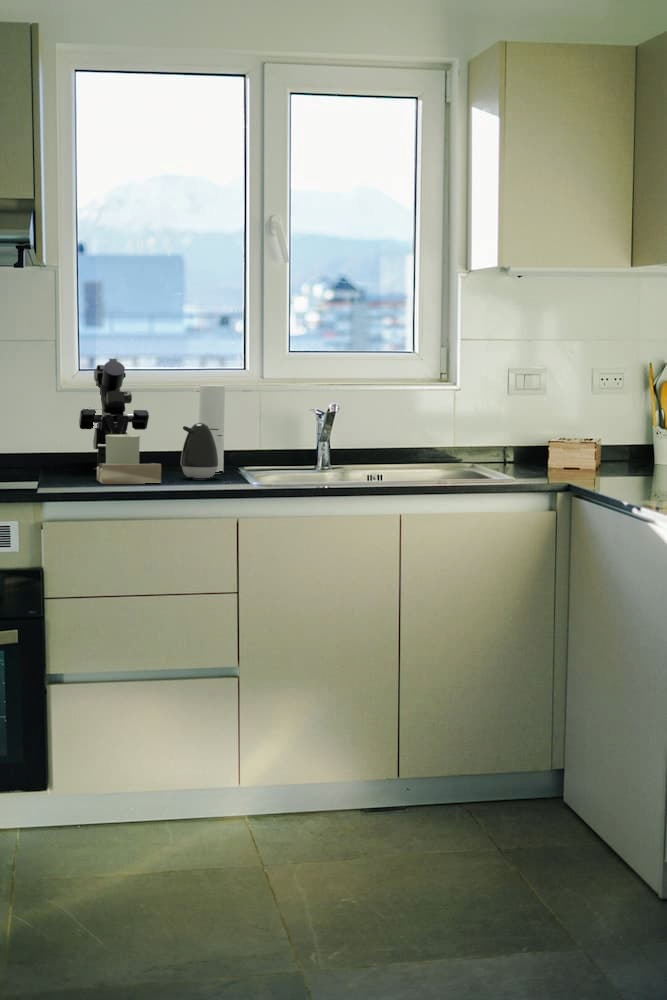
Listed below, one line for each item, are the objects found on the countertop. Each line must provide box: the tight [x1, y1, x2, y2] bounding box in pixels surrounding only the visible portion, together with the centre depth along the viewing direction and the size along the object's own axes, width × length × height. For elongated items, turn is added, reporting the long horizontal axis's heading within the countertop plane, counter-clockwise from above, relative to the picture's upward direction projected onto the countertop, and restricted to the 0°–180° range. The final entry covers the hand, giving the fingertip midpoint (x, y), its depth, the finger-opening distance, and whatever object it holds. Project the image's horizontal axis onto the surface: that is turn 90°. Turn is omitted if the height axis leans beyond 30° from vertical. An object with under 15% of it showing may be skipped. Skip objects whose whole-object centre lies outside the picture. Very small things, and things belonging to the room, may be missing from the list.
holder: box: [96, 462, 162, 485], centre depth 319 cm, size 10×15×5 cm
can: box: [105, 433, 141, 464], centre depth 328 cm, size 9×9×12 cm
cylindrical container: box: [198, 384, 226, 472], centre depth 353 cm, size 7×7×25 cm
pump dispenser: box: [180, 422, 218, 479], centre depth 333 cm, size 10×10×15 cm
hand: (117, 442), depth 337 cm, fingers closed
